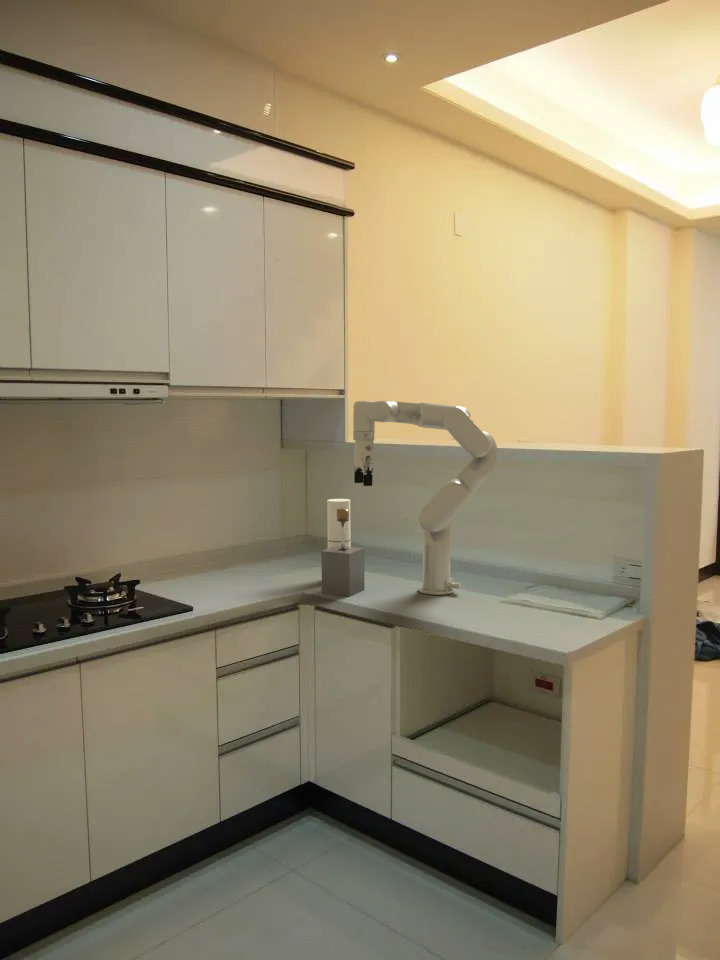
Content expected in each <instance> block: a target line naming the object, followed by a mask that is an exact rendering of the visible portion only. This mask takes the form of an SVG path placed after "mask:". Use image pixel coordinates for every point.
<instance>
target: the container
mask: <svg viewBox="0 0 720 960" xmlns="http://www.w3.org/2000/svg"><path fill="white" fill-rule="evenodd" d="M326 501H327V503H326V506H327V508H326V509H327V510H326V514H327V517H326V518H327V519H326V520H327V521H326V522H327V523H326V524H327V529H326V530H327V549H329V548H332V547H335V546H341V522H339V521H337V509H349V521H346V522H345V547H352V545H351V499H349V498H329V499H327V500H326Z"/></svg>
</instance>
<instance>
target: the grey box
mask: <svg viewBox="0 0 720 960" xmlns="http://www.w3.org/2000/svg"><path fill="white" fill-rule="evenodd" d="M320 552H321V553H320V554H321V594H327V595H335V596H342V597H343V596H344V597H349V598H350V597H351V596H354V595H356V594H358V593H360V592H362V591H364V590H365V548H364V547H354V546H351V547H345V551H341V546H335V547H332V548H329V549H328V548H326V549H323V550H321V551H320Z"/></svg>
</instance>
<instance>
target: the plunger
mask: <svg viewBox="0 0 720 960" xmlns="http://www.w3.org/2000/svg"><path fill="white" fill-rule="evenodd" d="M337 521H339V522H341V551H345V522H346V521H349V509H337Z"/></svg>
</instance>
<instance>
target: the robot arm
mask: <svg viewBox="0 0 720 960" xmlns="http://www.w3.org/2000/svg"><path fill="white" fill-rule="evenodd" d="M352 414H353V418H352V419H353V423H352V424H353V426H352V428H353V429H352V431H353V432H352V439H353V441H354V447H353V448H354V449H353V463H354V464H353V465H354V469H353V470H354V471H353V472H354V473H353V475H354V481H353V482H354V484H362V486H363V487H372V486H373V474H374V472H373V470H374V468H376V458H375V457H376V454H375V453H376V452H375V443H374V441H375V432H376V431H375V430H376V429H375V427H376V425H375V422H376V423H398V424H407V425H409V424H410V425H414V426H417V427H419V428H423V429H433V430H435V429H436V430H444V431H447V432H448V433H449V434H450V435H451V436H452V438H453V439H454V440H455V441H456V442H457V444H458V445H460V446H461V448H462V449H463V450H464V451H465V452H466V453H467V454H468V455H469V456H470V460H469V461H467V463H466V464H464V466H463V467H462V468H461V470H460V471H459V472H458V473H457V474H456V475H455V476H454V477H453V478H452V479H450V480H449V481H447V482H446V483H444V484H443V485H442V486H441V487H440V488H439V489H438V490H437V492H436V493H435V494H434V495H433V496H432V497H431V498H430V499H429V500H428V501H427V503H425V505H424V506H423V507H422V508H421V509H420V512H419V514H418V518H417V519H418V524H419V527H420V528H421V529H422V530H423V535H422V536H423V538H422V585H419V586H418V591H419V593H421V594H425V595H433V596H434V595H435V596H442V595H444V596H445V595H449V594H450V595H451V594H452V593H455V590H461V589H462V583H461V582H458V581H456V582H455V581H454V577H451V541H452V540H451V539H452V537H451V536H452V525H453V524H452V521H453V518H454V517H455V516H456V514H457V513H458V512H459V511H460V510H461V509H462V508H463V507H464V506H465V505H466V504H467V503H468V502H469V501H470V499H471V498H472V496H473V495H474V494H475V492H477V491H478V489H479V488H480V487H481V486H482V485H483V484H484V482H486V480H487V479H488V478H489V477H490V475H491V474H492V473H493V471H494V469H495V468H496V465H497V462H498V457H499V456H498V455H499V453H498V454H497V450H498V446H497V442H496V441H495V438H494V437H493V436H492V435H491V434H490V433H489V432H487V431H483V430H482V429H481V428H480V427H479V426H478V425H477V424H476V423H475V421H474V420H473V419H472V415H471V412H470V411H469V409H468V408H466V407H465V406H461V405H453V404H452V405H451V404H441V403H432V402H431V403H429V402H415V403H414V402H404V401H395V400H378V401H370V400H366V401H365V400H361V401H360V400H357V401H355V402H354V403H353V413H352ZM496 449H497V450H496Z"/></svg>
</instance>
